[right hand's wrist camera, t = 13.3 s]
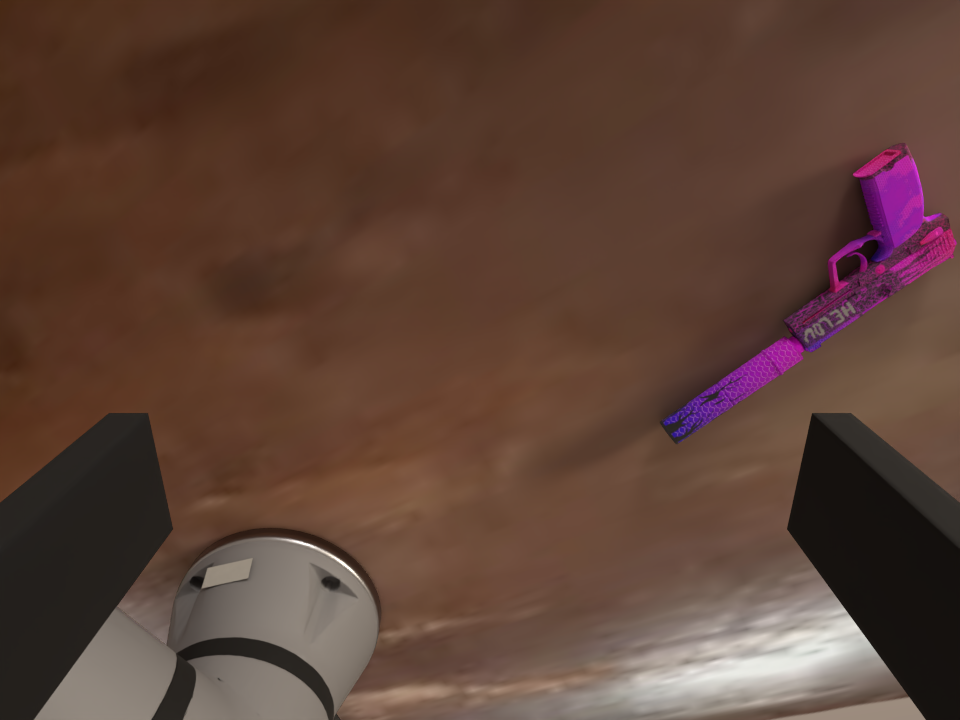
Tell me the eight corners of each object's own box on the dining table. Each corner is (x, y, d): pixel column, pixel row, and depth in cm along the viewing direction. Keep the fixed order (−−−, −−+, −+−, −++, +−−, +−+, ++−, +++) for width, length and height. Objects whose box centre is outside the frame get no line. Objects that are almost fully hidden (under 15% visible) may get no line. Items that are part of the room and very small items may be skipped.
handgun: (893, 141, 37) (914, 142, 35) (954, 242, 39) (977, 247, 37) (607, 359, 41) (612, 370, 40) (674, 438, 43) (682, 452, 42)
